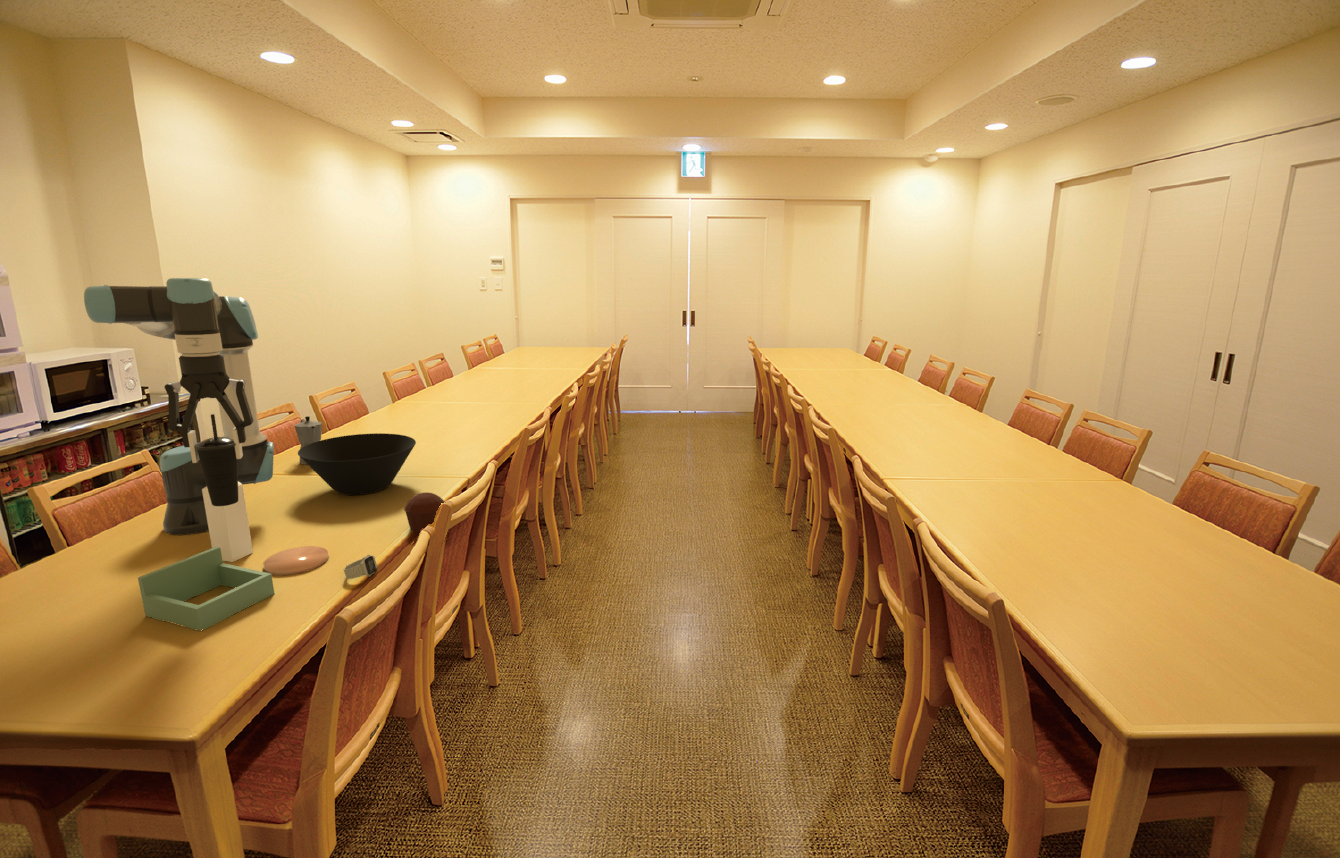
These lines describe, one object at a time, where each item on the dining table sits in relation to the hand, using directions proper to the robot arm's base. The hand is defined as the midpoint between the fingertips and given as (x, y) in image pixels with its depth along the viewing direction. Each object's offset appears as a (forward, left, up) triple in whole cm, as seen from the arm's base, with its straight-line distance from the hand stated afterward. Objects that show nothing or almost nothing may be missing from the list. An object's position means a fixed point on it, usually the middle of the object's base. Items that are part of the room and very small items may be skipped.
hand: (218, 459), depth 134 cm
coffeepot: (-72, +83, -32) cm, 114 cm away
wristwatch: (+19, +16, -32) cm, 41 cm away
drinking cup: (0, 0, -10) cm, 10 cm away
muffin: (+14, +45, -32) cm, 57 cm away
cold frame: (0, -7, -32) cm, 32 cm away
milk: (-19, +12, -32) cm, 39 cm away
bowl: (-29, +65, -32) cm, 78 cm away
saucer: (-1, +15, -32) cm, 35 cm away
